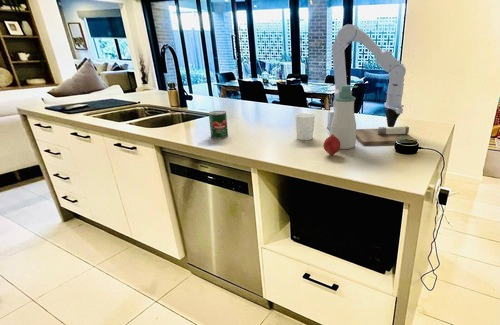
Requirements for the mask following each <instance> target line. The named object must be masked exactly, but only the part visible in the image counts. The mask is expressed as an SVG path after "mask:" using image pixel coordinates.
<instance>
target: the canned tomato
mask: <svg viewBox="0 0 500 325" xmlns="http://www.w3.org/2000/svg"><path fill="white" fill-rule="evenodd" d="M208 119H209V129H210V137H211V139H225V138H228V136H229V132H228V121H227V120H228V118H227V111H225V110H213V111H209V112H208Z"/></svg>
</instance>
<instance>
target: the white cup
mask: <svg viewBox="0 0 500 325" xmlns="http://www.w3.org/2000/svg"><path fill="white" fill-rule="evenodd" d="M315 117H316V115H315V113H310V112H308V113H307V112H303V113H302V112H301V113H297V114H295V130H296V139H297V140H300V141H310V140H312V139H313V138H314V137H313V136H314V128H315Z"/></svg>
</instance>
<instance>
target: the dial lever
mask: <svg viewBox="0 0 500 325" xmlns="http://www.w3.org/2000/svg"><path fill="white" fill-rule="evenodd" d="M377 129H378V134H379V135H385V134H408V135H409V132H410V127H409V126H407V125H406V126H394V127H388V126H379V127H378V128H377Z"/></svg>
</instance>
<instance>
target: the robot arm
mask: <svg viewBox="0 0 500 325" xmlns="http://www.w3.org/2000/svg"><path fill="white" fill-rule="evenodd" d="M354 42H355V43H359V44H362V45H363V46H364V48H366V50H368V51H369V52H370V53H371V54H372V55H374V56H375V59H374V60H375V61H374V62H375V63H377V64H378V65H379V66H380V68H381V69H382V70H384V71H385V72H386V73H388V76H389V81H388V82H389V83H388V84H387V92H386V100H385V101H386V102H384V105H383V106H384V108H385V109H384V111H383V112H384V114H385V117H386V122H387V124H386V125H387V127H395V125H396V122H397V120H398V118H399V117H400V115H401V114H403V112H404V104H402V100H403V94H404V87H405V86H404V85H405V84H404V82H405V75H406V71H407V69H406V66H405V65H404V64H403V63H401V62H402V61H401V60H398V59H397V58H396V57H395V56H394V55H393V52H392V51H391V50H388V49H382V48H380V46H379V45H378V44H377V43H376V42H375V41H374V40H373V38H371V37H370V36H369V35H368V33H366V32H365V31H364V30H363V29H361V28H359V27H358V26H357V25H355V24H349V23H347V24H345V25H343V26H342V27H341V28H340V29H339V30H338V32H337V34H336V37H335V38H334V41H333V43H332V46H331V54H332V64H333V75H334V76H333V78H334V95H333V96H334V98H333V101H332V106H333V109H330V110H328V112H327V128H328V130H329V131H330V128H331V123H332V120H333V117H334V113H335V108H336V100H335V98H336V97H337V96H339V91H342V86H344V85H348V84H347V83H348V82H347V69H346V54H345V53H346V52H345V50H346V48H348V46H349V45H350V44H352V43H354Z"/></svg>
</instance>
